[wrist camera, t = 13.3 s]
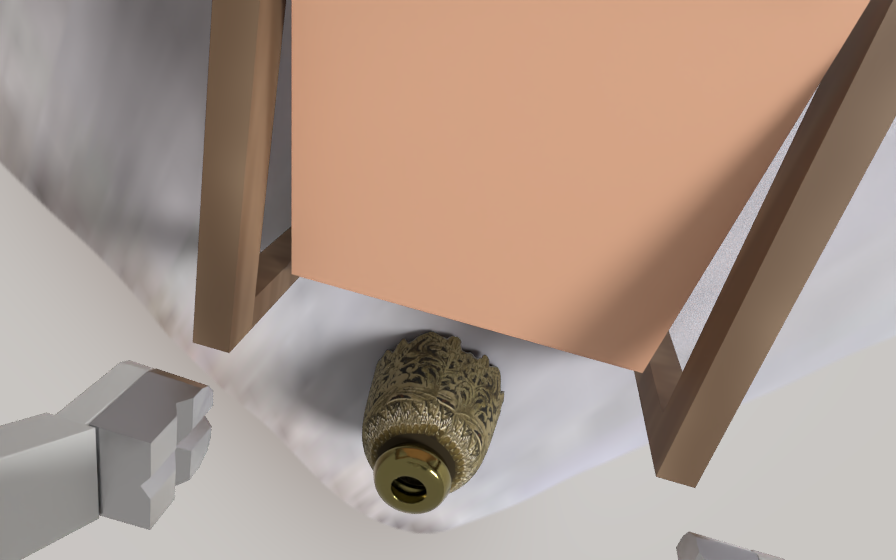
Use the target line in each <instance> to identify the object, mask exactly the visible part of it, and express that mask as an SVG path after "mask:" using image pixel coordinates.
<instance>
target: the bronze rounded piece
mask: <svg viewBox="0 0 896 560" xmlns="http://www.w3.org/2000/svg"><path fill="white" fill-rule="evenodd" d="M461 343H462V342H461V340H460V339H459V338H458V337H455V336H450V337H449V338H447V339H446V338H444V337H443V336H440V335H438V334H437V333H435V332H428V333H425V334H423V335H420V336H418V337H416V339H415V340H413V341H411V342H409V343H408V342H407V340H406V339H405V338H404V339H403V340H402V341H401V342H400V343H399V344H398V345H397V346H396V349H395V350H394V352H392V351H390V350H387V351H386V352H385V354H384V355H383V357H382V358H381V360H379V361H378V363H377V366H376V369H375V373H374V377H373V381H372V385H371V388H370V392H369V396H368V400H367V404H366V408H365V413H364V419H363V426H362V441H363V447H364V452H365V455H366V458H367V460H368V462H369V464H370V466H371V468H372V469H373V476H374V483H375V487H376V490H377V492H378V494H379V496H380V497H381V498H382V500H383V501H384V502H385V503H387V504H388V505H389V506H391V507H392V508H394V509H396V510H398V511H401V512H405V513H410V514H421V513H426V512H429V511H431V510H433V509H435V508H436V507H438V506H439V505H440V504H441V503H442V502H443V501H444V499H445V498H446V497H447V495H448V494H449V493H452V492H453V491H455V490H457V489H459V488H460V487H462V486H463V485H465V484H466V483H467V482H468V481H469V480H470V479H471V478H472V477H473V475H474V474H475V473H476V472H477V470H478V468H479V467H480V465H481V464H482V461H483V459H484V457H485V455H486V453H487V450H488V448H489V445H490V442H491V439H492V436H493V433H494V430H495V427H496V424H497V420H498V417H499V415H500V412H501V410H500V409H501V406H502V403H503V400H504V391H501V375H500V371H499V369H498V367H496V366H495V367H494V366H489V359H488V357H487V356H486V355H483V356H482V358H479V359H477V358H476V357H474V355H473V354H472V353H466V352H464V351H463V350H462V348H461Z"/></svg>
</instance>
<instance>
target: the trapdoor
mask: <svg viewBox="0 0 896 560" xmlns="http://www.w3.org/2000/svg"><path fill="white" fill-rule="evenodd" d="M869 2H870V0H292V274H293V275H296V276H300V277H304V278H307V279H311V280H314V281H318V282H321V283H325V284H328V285H332V286H335V287H339V288H343V289H346V290H350V291H353V292H357V293H360V294H364V295H367V296H371V297H374V298H378V299H382V300H385V301H389V302H392V303H396V304H399V305H403V306H406V307H410V308H413V309H417V310H420V311H424V312H428V313H431V314H435V315H438V316H442V317H445V318H449V319H452V320H456V321H459V322H463V323H467V324H470V325H474V326H477V327H481V328H484V329H488V330H491V331H495V332H498V333H502V334H505V335H509V336H513V337H516V338H520V339H523V340H527V341H530V342H534V343H537V344H541V345H544V346H548V347H552V348H555V349H559V350H562V351H566V352H569V353H573V354H576V355H580V356H583V357H587V358H591V359H594V360H598V361H601V362H605V363H608V364H612V365H615V366H619V367H622V368H626V369H629V370H633V371H637V372H640V373H643V371H644V370H645V368H646V367H647V365H648V363H649V362H650V360H651V358H652V357H653V355H654V353H655V352H656V350H657V349H658V347H659V345H660V344H661V342H662V340H663V339H664V337H665V335H666V334H667V332H668V331H669V329H670V327H671V326H672V324H673V322H674V321H675V319H676V318H677V316H678V314H679V313H680V311H681V309H682V308H683V306H684V304H685V303H686V301H687V300H688V298H689V296H690V295H691V293H692V291H693V290H694V288H695V286H696V285H697V283H698V282H699V280H700V278H701V277H702V275H703V273H704V272H705V270H706V268H707V267H708V265H709V264H710V262H711V260H712V259H713V257H714V255H715V254H716V252H717V250H718V249H719V247H720V246H721V244H722V242H723V241H724V239H725V237H726V236H727V234H728V232H729V231H730V229H731V228H732V226H733V224H734V223H735V221H736V219H737V218H738V216H739V214H740V213H741V211H742V210H743V208H744V206H745V205H746V203H747V201H748V200H749V198H750V196H751V195H752V193H753V192H754V190H755V188H756V187H757V185H758V183H759V182H760V180H761V178H762V177H763V175H764V174H765V172H766V170H767V169H768V167H769V165H770V164H771V162H772V160H773V159H774V157H775V156H776V154H777V152H778V151H779V149H780V147H781V146H782V144H783V142H784V141H785V139H786V138H787V136H788V134H789V133H790V131H791V129H792V128H793V126H794V124H795V123H796V121H797V120H798V118H799V116H800V115H801V113H802V111H803V110H804V108H805V106H806V105H807V103H808V102H809V100H810V98H811V97H812V95H813V93H814V92H815V90H816V88H817V87H818V85H819V84H820V82H821V80H822V79H823V77H824V75H825V74H826V72H827V71H828V69H829V67H830V66H831V64H832V62H833V61H834V59H835V57H836V56H837V54H838V53H839V51H840V49H841V48H842V46H843V44H844V43H845V41H846V39H847V38H848V36H849V35H850V33H851V31H852V30H853V28H854V26H855V25H856V23H857V21H858V20H859V18H860V17H861V15H862V13H863V12H864V10H865V8H866V7H867V5H868V3H869Z"/></svg>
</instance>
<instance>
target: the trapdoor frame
mask: <svg viewBox="0 0 896 560" xmlns="http://www.w3.org/2000/svg"><path fill="white" fill-rule="evenodd" d="M285 6H286V0H212V14H211V32H210V49H209V67H208V84H207V102H206V119H205V137H204V155H203V172H202V190H201V207H200V225H199V242H198V260H197V277H196V295H195V312H194V330H193V343H197V344H200V345H204V346H207V347H210V348H214V349H217V350H221V351H224V352H228V353H230V351H231V350H232V349H233V348H234V347H235V346H236V345H237V344H238V343H239V342H240V341H241V340H242V338H243V337H244V336H245V335H246V334H247V333H248V332H249V331H250V330H251V329H252V328H253V327H254V325H255V324H256V323H257V322H258V321H259V320H260V319H261V318H262V317H263V316H264V315H265V314H266V312H267V311H268V310H269V309H270V308H271V307H272V306H273V305H274V304H275V303H276V302H277V301H278V299H279V298H280V297H281V296H282V295H283V294H284V293H285V292H286V291H287V290H288V289H289V288H290V286H291V285H292V284H293V283H294V282H295V281H296V280H297V279H298V278H299V277H300V276H296V275H293V274H292V226H291V227H290V228H289V229H288V230H287V231H285V232H284V233H283V234H282V235H281V236H280V237H278V238H277V239H276V240H275V241H274V242H273V243H271V244H270V245H269V246H268V247H267V248H266V249H264V250H263V251H262V252H261V253H260V244H261V235H262V225H263V216H264V206H265V197H266V187H267V177H268V168H269V158H270V149H271V139H272V130H273V120H274V111H275V101H276V92H277V82H278V73H279V63H280V53H281V44H282V34H283V25H284V15H285ZM895 116H896V0H870V2H869V3H868V5H867V7H866V8H865V10H864V12H863V13H862V15H861V17H860V18H859V20H858V21H857V23H856V25H855V26H854V28H853V30H852V31H851V33H850V35H849V36H848V38H847V39H846V41H845V43H844V44H843V46H842V48H841V49H840V51H839V53H838V54H837V56H836V57H835V59H834V61H833V62H832V64H831V66H830V67H829V69H828V71H827V72H826V74H825V75H824V77H823V79H822V80H821V82H820V84H819V86H818V88H817V90H816V93H815V95H814V97H813V99H812V101H811V103H810V105H809V107H808V109H807V112H806V114H805V116H804V118H803V120H802V122H801V124H800V126H799V128H798V130H797V133H796V135H795V137H794V139H793V141H792V143H791V145H790V147H789V149H788V151H787V154H786V156H785V158H784V160H783V162H782V164H781V166H780V168H779V170H778V172H777V175H776V177H775V179H774V181H773V183H772V185H771V187H770V189H769V191H768V194H767V196H766V198H765V200H764V202H763V204H762V206H761V208H760V210H759V212H758V215H757V217H756V219H755V221H754V223H753V225H752V227H751V229H750V231H749V233H748V236H747V238H746V240H745V242H744V244H743V246H742V248H741V250H740V252H739V255H738V257H737V259H736V261H735V263H734V265H733V267H732V269H731V271H730V273H729V276H728V278H727V280H726V282H725V284H724V286H723V288H722V290H721V292H720V294H719V297H718V299H717V301H716V303H715V305H714V307H713V309H712V311H711V313H710V315H709V318H708V320H707V322H706V324H705V326H704V328H703V330H702V332H701V334H700V337H699V339H698V341H697V343H696V345H695V347H694V349H693V351H692V353H691V355H690V358H689V360H688V362H687V364H686V366H685V368H684V370H683V372H682V369H681V366H680V363H679V361H678V358H677V355H676V352H675V349H674V346H673V343H672V340H671V337H670V334H669V331H668V332H667V334H666V335H665V337H664V339H663V340H662V342H661V344H660V345H659V347H658V349H657V350H656V352H655V353H654V355H653V357H652V358H651V360H650V362H649V363H648V365H647V367H646V368H645V370H644V371H643V373H640V372H637V371H634V373H635V378H636V382H637V387H638V392H639V397H640V402H641V407H642V411H643V416H644V421H645V426H646V431H647V435H648V440H649V445H650V450H651V455H652V459H653V464H654V469H655V473H656V477H659V478H663V479H666V480H669V481H673V482H676V483H680V484H684V485H687V486H690V487H694V488H695V487H696V485H697V483H698V482H699V480H700V478H701V476H702V474H703V472H704V470H705V469H706V467H707V465H708V463H709V461H710V459H711V457H712V456H713V453H714V452H715V450H716V448H717V446H718V445H719V443H720V441H721V439H722V437H723V435H724V433H725V432H726V430H727V428H728V426H729V424H730V422H731V420H732V418H733V417H734V415H735V413H736V410H737V409H738V407H739V406H740V404H741V402H742V400H743V398H744V396H745V394H746V393H747V391H748V389H749V387H750V385H751V383H752V381H753V380H754V378H755V376H756V374H757V372H758V370H759V369H760V367H761V365H762V363H763V361H764V359H765V357H766V356H767V354H768V352H769V350H770V348H771V346H772V344H773V343H774V341H775V339H776V337H777V335H778V333H779V331H780V330H781V328H782V326H783V324H784V322H785V320H786V318H787V317H788V315H789V313H790V311H791V309H792V307H793V305H794V304H795V302H796V300H797V298H798V296H799V294H800V293H801V291H802V289H803V287H804V285H805V283H806V281H807V280H808V278H809V276H810V274H811V272H812V270H813V268H814V267H815V265H816V263H817V261H818V259H819V257H820V255H821V254H822V252H823V250H824V248H825V246H826V244H827V242H828V241H829V239H830V237H831V235H832V233H833V231H834V229H835V228H836V226H837V224H838V222H839V220H840V218H841V217H842V215H843V213H844V211H845V209H846V207H847V205H848V204H849V202H850V200H851V198H852V196H853V194H854V192H855V191H856V189H857V187H858V185H859V183H860V181H861V179H862V178H863V176H864V174H865V172H866V170H867V168H868V166H869V165H870V163H871V161H872V159H873V157H874V155H875V153H876V152H877V150H878V148H879V146H880V144H881V142H882V141H883V139H884V137H885V135H886V133H887V131H888V129H889V128H890V126H891V124H892V122H893V120H894V118H895Z"/></svg>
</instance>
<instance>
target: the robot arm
mask: <svg viewBox="0 0 896 560" xmlns="http://www.w3.org/2000/svg"><path fill="white" fill-rule="evenodd" d="M212 406H213V390H212V389H211V388H210V387H209V386H207V385H205V384H201V383H198V382H195V381H192V380H189V379H186V378H183V377H180V376H177V375H174V374H171V373H168V372H165V371H162V370H159V369H153V368H151V367H148V366H145V365H142V364H139V363H136V362H133V361H130V360H128V361H124V362H120V363H119V364H118V365H116V366H115V367H114V368H112V369H111V370H110V371H109V372H108V373H106V374H105V375H104V376H103V377H101V378H100V379H99V380H98V381H97V382H95V383H94V384H93V385H92V386H90V387H89V388H88V389H87V390H85V391H84V392H83V393H82V394H80V395H79V396H78V397H77V398H76V399H74V400H73V401H72V402H71V403H69V404H68V405H67V406H66V407H64V408H63V409H62V410H61V411H60V412H58V413H57V414H56V415H53V414H49V413H43V414H40V415H36V416H33V417H30V418H26V419H22V420H19V421H16V422H12V423H8V424H5V425H1V426H0V560H21V559H23V558H25V557H27V556H29V555H31V554H32V553H34V552H36V551H38V550H40V549H42V548H44V547H46V546H48V545H50V544H51V543H53V542H55V541H57V540H59V539H61V538H63V537H65V536H67V535H69V534H70V533H72V532H74V531H76V530H78V529H80V528H82V527H84V526H86V525H87V524H89V523H91V522H93V521H95V520H97V519H99V515H100V516H104V517H107V518H110V519H114V520H117V521H122V522H124V523H128V524H132V525H135V526H138V527H142V528H146V529H149V530H150V529H151V528H152V527H153V526H154V524H155V523H156V522H157V521H158V519H159V518H160V517H161V516H162V514H163V513H164V512H165V511H166V509H167V508H168V507H169V505H170V504H171V503H172V502H173V500H174V498H175V486H176V485H178V484H181V483H183V482H185V481H188V480H190V479H191V477H192V476H193V475H194V473H195V472H196V471H197V469H198V468H199V467H200V465H201V462H202V460H203V458H204V456H205V454H206V452H207V450H208V446H209V441H210V438H211V425H210V423H209V421H208V420H207V418H206V417H205V414H206V413H207V412H208V411H209V410H210V409H211V407H212ZM676 549H677V555H678V560H784V559H783V558H779V557H776V556H772V555H769V554H765V553H762V552H758V551H754V550H749V549H746V548H743V547H739V546H736V545H733V544H729V543H726V542H722V541H719V540H716V539H712V538H709V537H706V536H702V535H699V534H695V533H692V532H688V533H686V534H685V535H684V536H683V537H682V539H681V540H680V542H679V543H678V545H677V547H676Z"/></svg>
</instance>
